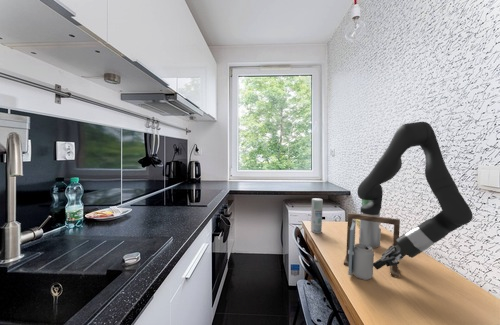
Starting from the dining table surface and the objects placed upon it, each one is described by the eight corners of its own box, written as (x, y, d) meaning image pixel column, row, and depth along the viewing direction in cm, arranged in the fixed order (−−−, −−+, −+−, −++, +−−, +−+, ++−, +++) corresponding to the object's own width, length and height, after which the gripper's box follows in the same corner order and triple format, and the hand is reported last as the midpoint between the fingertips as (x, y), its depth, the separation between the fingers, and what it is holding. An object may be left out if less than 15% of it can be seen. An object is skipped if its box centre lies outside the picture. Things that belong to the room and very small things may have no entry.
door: (350, 260, 104) (352, 220, 103) (355, 261, 103) (357, 220, 102) (346, 274, 91) (348, 229, 90) (352, 275, 90) (354, 230, 89)
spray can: (313, 233, 140) (314, 200, 139) (308, 229, 147) (310, 198, 146) (323, 232, 142) (324, 200, 141) (318, 229, 148) (319, 198, 147)
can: (375, 282, 88) (376, 251, 88) (353, 279, 90) (354, 248, 90) (370, 272, 95) (371, 243, 95) (350, 269, 97) (351, 241, 97)
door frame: (343, 264, 102) (345, 214, 101) (345, 257, 109) (347, 210, 108) (399, 277, 92) (402, 222, 91) (397, 268, 99) (400, 217, 98)
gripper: (403, 228, 91) (367, 252, 97) (408, 239, 80) (367, 265, 86) (419, 244, 89) (381, 267, 95) (426, 257, 77) (383, 283, 84)
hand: (374, 266), depth 90 cm, fingers closed
